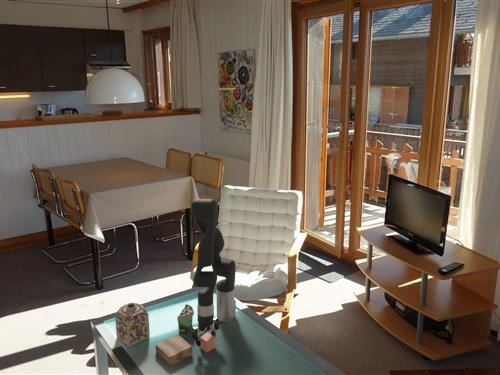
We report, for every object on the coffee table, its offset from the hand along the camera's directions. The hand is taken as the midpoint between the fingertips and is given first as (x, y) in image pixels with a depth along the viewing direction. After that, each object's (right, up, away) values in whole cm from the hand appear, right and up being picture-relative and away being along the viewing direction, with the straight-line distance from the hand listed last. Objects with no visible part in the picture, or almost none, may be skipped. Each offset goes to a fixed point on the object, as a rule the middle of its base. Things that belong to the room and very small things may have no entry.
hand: (205, 342), depth 209 cm
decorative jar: (-36, -1, +8) cm, 37 cm away
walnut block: (-14, -4, -4) cm, 15 cm away
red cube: (+1, -3, +1) cm, 3 cm away
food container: (-11, +1, +16) cm, 19 cm away
